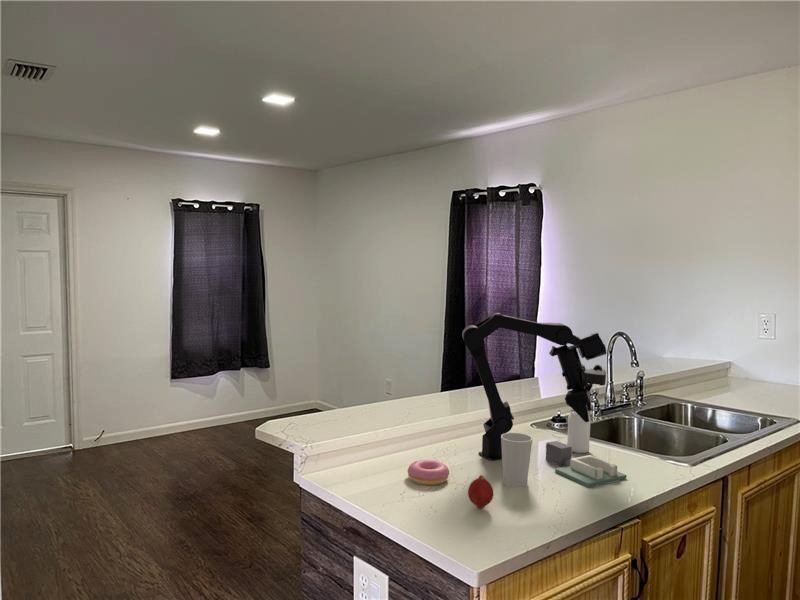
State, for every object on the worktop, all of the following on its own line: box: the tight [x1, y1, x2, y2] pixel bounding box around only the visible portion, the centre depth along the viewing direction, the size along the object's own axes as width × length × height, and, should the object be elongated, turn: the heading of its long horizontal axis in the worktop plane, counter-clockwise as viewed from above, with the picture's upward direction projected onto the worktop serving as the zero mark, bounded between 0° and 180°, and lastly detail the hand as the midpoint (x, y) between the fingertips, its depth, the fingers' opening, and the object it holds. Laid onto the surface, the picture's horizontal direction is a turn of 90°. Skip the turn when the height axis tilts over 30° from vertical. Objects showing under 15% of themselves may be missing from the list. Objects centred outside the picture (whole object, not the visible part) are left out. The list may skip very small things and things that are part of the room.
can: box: [566, 409, 591, 454], centre depth 181 cm, size 6×6×12 cm
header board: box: [554, 454, 627, 488], centre depth 160 cm, size 14×12×4 cm
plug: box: [545, 440, 573, 467], centre depth 170 cm, size 4×7×5 cm, turn 29°
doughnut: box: [407, 459, 450, 486], centre depth 154 cm, size 11×11×4 cm
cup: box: [501, 432, 533, 488], centre depth 153 cm, size 8×8×12 cm
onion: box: [467, 474, 494, 510], centre depth 136 cm, size 6×6×8 cm
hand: (588, 416), depth 171 cm, fingers open, 9 cm apart
